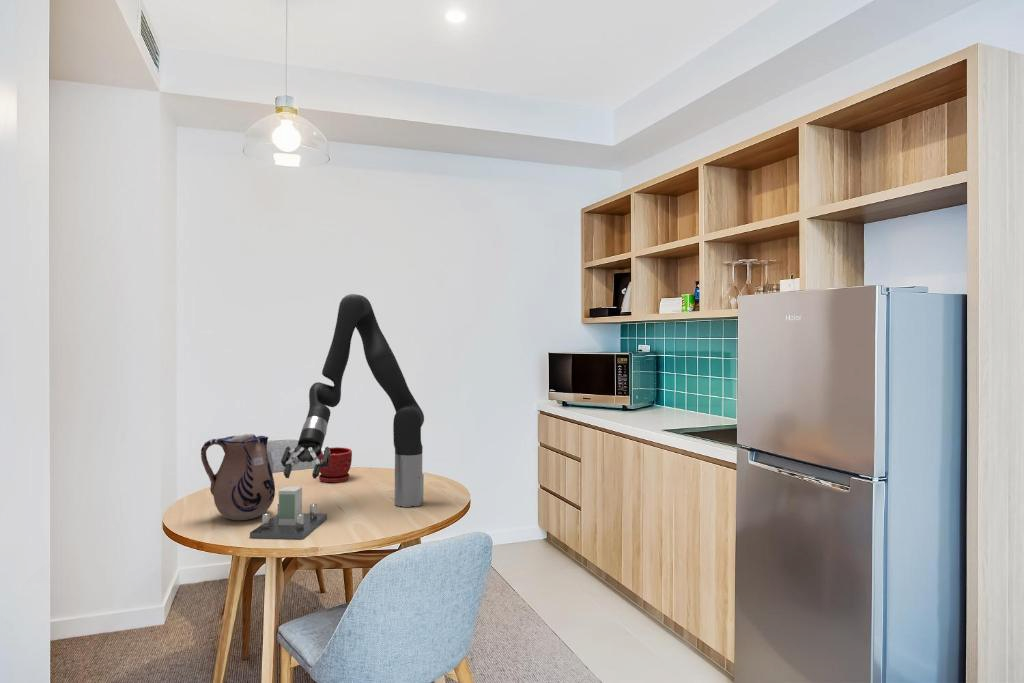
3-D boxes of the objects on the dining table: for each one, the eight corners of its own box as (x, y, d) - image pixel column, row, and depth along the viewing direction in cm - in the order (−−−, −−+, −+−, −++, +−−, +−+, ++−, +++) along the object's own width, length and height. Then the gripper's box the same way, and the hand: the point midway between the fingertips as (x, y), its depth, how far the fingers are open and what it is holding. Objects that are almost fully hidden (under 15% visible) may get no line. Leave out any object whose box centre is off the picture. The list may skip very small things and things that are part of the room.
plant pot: (310, 481, 245) (310, 450, 245) (336, 475, 256) (337, 446, 256) (332, 486, 238) (332, 454, 238) (358, 479, 249) (359, 449, 249)
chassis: (326, 518, 195) (326, 501, 195) (302, 539, 175) (302, 519, 175) (279, 517, 196) (279, 499, 196) (249, 538, 176) (249, 518, 176)
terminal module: (301, 520, 188) (302, 487, 188) (295, 525, 183) (295, 491, 183) (285, 520, 188) (285, 486, 188) (278, 525, 183) (278, 491, 183)
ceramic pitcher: (279, 520, 193) (279, 439, 193) (202, 530, 183) (203, 444, 183) (270, 506, 209) (270, 431, 208) (199, 515, 198) (199, 435, 198)
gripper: (288, 426, 201) (273, 470, 190) (332, 426, 201) (320, 470, 189) (294, 440, 207) (280, 483, 195) (337, 440, 206) (326, 483, 195)
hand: (300, 477), depth 192 cm, fingers open, 8 cm apart
